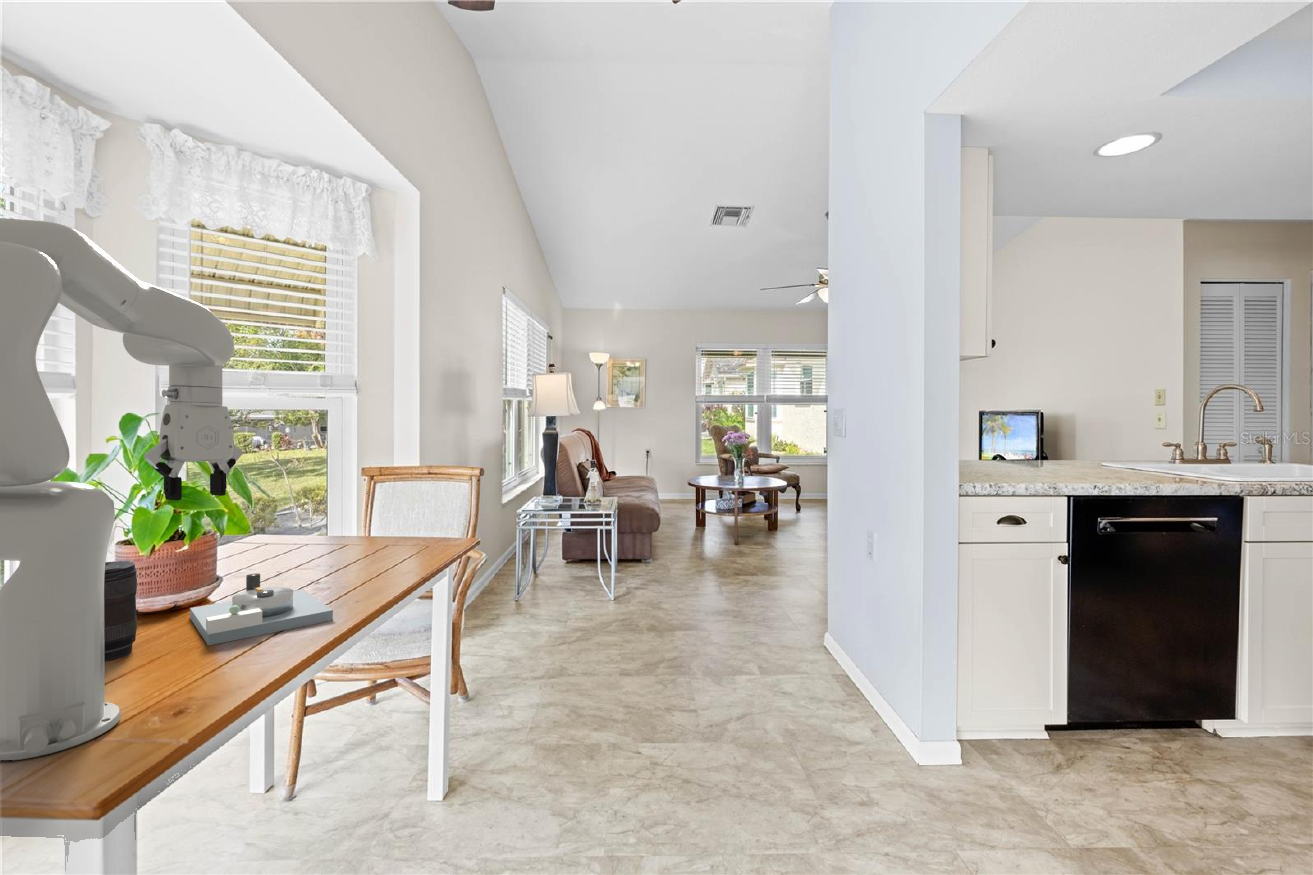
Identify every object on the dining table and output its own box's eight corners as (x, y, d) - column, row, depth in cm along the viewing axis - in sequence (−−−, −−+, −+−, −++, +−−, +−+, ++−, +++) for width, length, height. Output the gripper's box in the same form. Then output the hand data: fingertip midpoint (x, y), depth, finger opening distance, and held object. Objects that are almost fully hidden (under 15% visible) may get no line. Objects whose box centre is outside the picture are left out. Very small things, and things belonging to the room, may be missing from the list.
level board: (333, 620, 118) (333, 590, 118) (208, 645, 103) (208, 611, 103) (303, 598, 132) (303, 571, 132) (189, 618, 118) (189, 588, 117)
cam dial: (299, 609, 117) (299, 583, 117) (238, 621, 110) (238, 593, 109) (279, 593, 127) (279, 569, 127) (222, 603, 120) (222, 577, 120)
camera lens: (61, 659, 97) (61, 568, 96) (124, 643, 104) (124, 558, 104) (83, 669, 93) (82, 574, 93) (146, 652, 100) (146, 564, 100)
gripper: (156, 395, 96) (156, 504, 96) (258, 400, 112) (258, 493, 113) (125, 395, 98) (125, 502, 99) (230, 399, 115) (229, 491, 115)
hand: (196, 496), depth 106 cm, fingers open, 6 cm apart
